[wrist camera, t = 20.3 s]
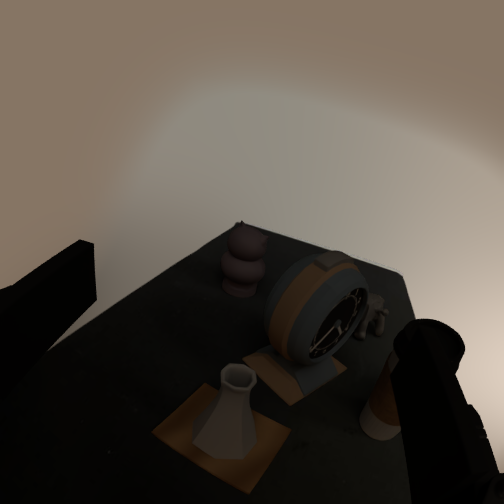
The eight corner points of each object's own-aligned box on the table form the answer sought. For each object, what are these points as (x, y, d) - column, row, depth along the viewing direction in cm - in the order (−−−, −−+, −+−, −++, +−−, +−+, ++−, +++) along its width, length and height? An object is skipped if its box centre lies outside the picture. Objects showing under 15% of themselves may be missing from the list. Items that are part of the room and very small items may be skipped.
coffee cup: (415, 439, 31) (480, 356, 25) (365, 455, 29) (433, 368, 23) (389, 395, 39) (439, 312, 33) (340, 404, 37) (389, 314, 30)
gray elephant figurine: (386, 332, 54) (402, 298, 50) (355, 359, 46) (374, 321, 42) (347, 308, 59) (360, 274, 56) (311, 329, 51) (325, 290, 48)
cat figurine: (208, 280, 59) (217, 220, 54) (241, 273, 64) (252, 217, 59) (235, 305, 54) (248, 240, 49) (268, 294, 59) (283, 235, 54)
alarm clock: (283, 409, 35) (332, 289, 28) (236, 361, 41) (262, 243, 34) (350, 366, 44) (397, 263, 37) (305, 331, 50) (339, 231, 43)
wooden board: (151, 433, 28) (151, 431, 28) (204, 384, 36) (204, 382, 36) (248, 494, 24) (249, 493, 24) (290, 431, 32) (291, 429, 32)
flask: (263, 419, 33) (285, 360, 29) (248, 469, 26) (271, 418, 22) (203, 400, 34) (212, 339, 30) (180, 447, 27) (183, 391, 23)
